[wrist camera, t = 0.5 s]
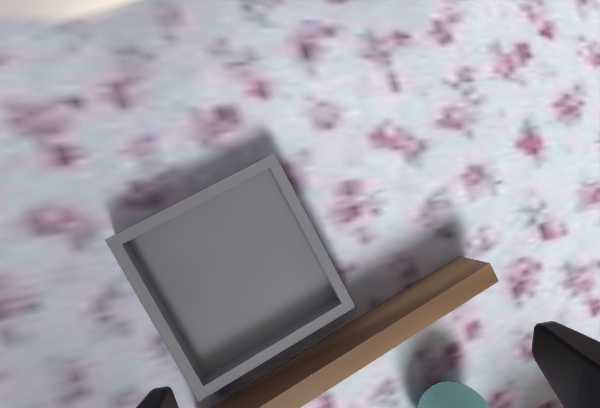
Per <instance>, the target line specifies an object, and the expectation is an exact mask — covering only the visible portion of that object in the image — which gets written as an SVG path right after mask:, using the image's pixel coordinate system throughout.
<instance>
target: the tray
mask: <svg viewBox="0 0 600 408" xmlns="http://www.w3.org/2000/svg"><path fill="white" fill-rule="evenodd" d="M105 241H106V242H107V244H108V246H109V248H110V249H111V251H112V253H113V255H114V256H115V258H116V260H117V261H118V263H119V265H120V267H121V268H122V270H123V272H124V274H125V275H126V277H127V279H128V281H129V282H130V284H131V286H132V287H133V289H134V291H135V293H136V294H137V296H138V298H139V300H140V301H141V303H142V305H143V307H144V308H145V310H146V312H147V313H148V315H149V317H150V319H151V320H152V322H153V324H154V326H155V327H156V329H157V331H158V333H159V334H160V336H161V338H162V339H163V341H164V343H165V345H166V346H167V348H168V350H169V352H170V353H171V355H172V357H173V359H174V360H175V362H176V364H177V366H178V367H179V369H180V371H181V372H182V374H183V376H184V378H185V379H186V381H187V383H188V385H189V386H190V388H191V390H192V392H193V393H194V395H195V397H196V398H197V400H198V402H199V401H201V400H203V399H204V398H206V397H208V396H209V395H211V394H213V393H214V392H216V391H218V390H219V389H221V388H222V387H224V386H226V385H227V384H229V383H231V382H232V381H234V380H236V379H237V378H239V377H241V376H242V375H244V374H246V373H247V372H249V371H251V370H252V369H254V368H256V367H257V366H259V365H260V364H262V363H264V362H265V361H267V360H269V359H270V358H272V357H274V356H275V355H277V354H279V353H280V352H282V351H284V350H285V349H287V348H289V347H290V346H292V345H294V344H295V343H297V342H298V341H300V340H302V339H303V338H305V337H307V336H308V335H310V334H312V333H313V332H315V331H317V330H318V329H320V328H322V327H323V326H325V325H327V324H328V323H330V322H332V321H333V320H335V319H336V318H338V317H340V316H341V315H343V314H345V313H346V312H348V311H350V310H351V309H353V308H355V305H354V303H353V301H352V300H351V298H350V296H349V294H348V292H347V290H346V288H345V286H344V284H343V282H342V281H341V279H340V277H339V275H338V273H337V271H336V269H335V267H334V265H333V263H332V262H331V260H330V258H329V256H328V254H327V252H326V250H325V248H324V246H323V244H322V242H321V241H320V239H319V237H318V235H317V233H316V231H315V229H314V227H313V225H312V223H311V222H310V220H309V218H308V216H307V214H306V212H305V210H304V208H303V206H302V204H301V203H300V201H299V199H298V197H297V195H296V193H295V191H294V189H293V187H292V185H291V184H290V182H289V180H288V178H287V176H286V174H285V172H284V170H283V168H282V166H281V165H280V163H279V161H278V159H277V157H276V155H275V153H274V154H272V155H270V156H268V157H266V158H264V159H262V160H260V161H258V162H256V163H254V164H252V165H250V166H249V167H247V168H245V169H243V170H241V171H239V172H237V173H235V174H233V175H231V176H229V177H227V178H225V179H223V180H221V181H219V182H217V183H215V184H213V185H211V186H209V187H207V188H206V189H204V190H202V191H200V192H198V193H196V194H194V195H192V196H190V197H188V198H186V199H184V200H182V201H180V202H178V203H176V204H174V205H172V206H170V207H168V208H166V209H164V210H162V211H161V212H159V213H157V214H155V215H153V216H151V217H149V218H147V219H145V220H143V221H141V222H139V223H137V224H135V225H133V226H131V227H129V228H127V229H125V230H123V231H121V232H119V233H118V234H116V235H114V236H112V237H110V238H108V239H106V240H105Z"/></svg>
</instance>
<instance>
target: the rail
mask: <svg viewBox="0 0 600 408" xmlns="http://www.w3.org/2000/svg"><path fill="white" fill-rule="evenodd" d="M496 282H498V279H497V277H496V275H495V273H494V271H493V269H492V267H491V265H490V263H486V262H482V261H478V260H473V259H469V258H465V257H460V256H459V257H457V258H456V259H454V260H452V261H451V262H449V263H448V264H446V265H444V266H443V267H441V268H439V269H438V270H436V271H434V272H433V273H431V274H430V275H428V276H426V277H425V278H423V279H421V280H420V281H418V282H416V283H415V284H413V285H412V286H410V287H408V288H407V289H405V290H403V291H402V292H400V293H398V294H397V295H395V296H394V297H392V298H390V299H389V300H387V301H385V302H384V303H382V304H381V305H379V306H377V307H376V308H374V309H372V310H371V311H369V312H367V313H366V314H364V315H363V316H361V317H359V318H358V319H356V320H354V321H353V322H351V323H349V324H348V325H346V326H345V327H343V328H341V329H340V330H338V331H336V332H335V333H333V334H331V335H330V336H328V337H327V338H325V339H323V340H322V341H320V342H318V343H317V344H315V345H313V346H312V347H310V348H309V349H307V350H305V351H304V352H302V353H300V354H299V355H297V356H295V357H294V358H292V359H291V360H289V361H287V362H286V363H284V364H282V365H281V366H279V367H277V368H276V369H274V370H273V371H271V372H269V373H268V374H266V375H264V376H263V377H261V378H260V379H258V380H256V381H255V382H253V383H251V384H250V385H248V386H246V387H245V388H243V389H242V390H240V391H238V392H237V393H235V394H233V395H232V396H230V397H228V398H227V399H225V400H224V401H222V402H220V403H219V404H217V405H215V406H214V407H212V408H300V407H302V406H303V405H305V404H306V403H308V402H310V401H311V400H313V399H314V398H316V397H317V396H319V395H321V394H322V393H324V392H325V391H327V390H328V389H330V388H332V387H333V386H335V385H336V384H338V383H339V382H341V381H343V380H344V379H346V378H347V377H349V376H350V375H352V374H354V373H355V372H357V371H358V370H360V369H361V368H363V367H365V366H366V365H368V364H369V363H371V362H372V361H374V360H376V359H377V358H379V357H380V356H382V355H383V354H385V353H387V352H388V351H390V350H391V349H393V348H394V347H396V346H398V345H399V344H401V343H402V342H404V341H405V340H407V339H409V338H410V337H412V336H413V335H415V334H416V333H418V332H420V331H421V330H423V329H424V328H426V327H427V326H429V325H431V324H432V323H434V322H435V321H437V320H438V319H440V318H442V317H443V316H445V315H446V314H448V313H449V312H451V311H453V310H454V309H456V308H457V307H459V306H460V305H462V304H464V303H465V302H467V301H468V300H470V299H471V298H473V297H475V296H476V295H478V294H479V293H481V292H482V291H484V290H485V289H487V288H489V287H490V286H492V285H493V284H495V283H496Z"/></svg>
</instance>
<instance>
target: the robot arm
mask: <svg viewBox="0 0 600 408" xmlns="http://www.w3.org/2000/svg"><path fill="white" fill-rule="evenodd" d="M532 354H533V357H534V359H535V361H536V362H537V364H538V366H539V367H540V369H541V371H542V372H543V374H544V376H545V377H546V379H547V381H548V382H549V384H550V385H551V387H552V389H553V390H554V392H555V394H556V395H557V397H558V399H559V400H560V402H561V404H562V405H563V407H564V408H600V342H599V341H597V340H595V339H592V338H590V337H588V336H586V335H584V334H581V333H579V332H577V331H575V330H573V329H570V328H568V327H566V326H564V325H562V324H559V323H557V322H554V321H549V322H543V323H538V324H536V326H535V327H534V334H533V342H532ZM136 408H179V407H178V405H177V402H176V399H175V397H174V394H173V391H172V389H171V388H170V387H161V388H155V389H153V390H151V391H150V392H149V393H148V394H147V396H146V397H145V398H144V399H143V400H142V401H141V403H140V404H139V405H138V406H137V407H136Z"/></svg>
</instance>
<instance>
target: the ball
mask: <svg viewBox="0 0 600 408" xmlns="http://www.w3.org/2000/svg"><path fill="white" fill-rule="evenodd" d="M417 408H490V407H489V405H488V404H487V403H486V401H485V400H484V399H483V398H482V397H481V396H480V395H479V394H478V393H477V392H476V391H475V390H473V389H472V388H470V387H468V386H466V385H464V384H461V383H457V382H450V381H447V382H440V383H437V384H435V385H433V386H431V387H430V388H428V389H427V390H426V391H425V392H424V394H423V395H422V396H421V398H420V400H419V403H418V406H417Z"/></svg>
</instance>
